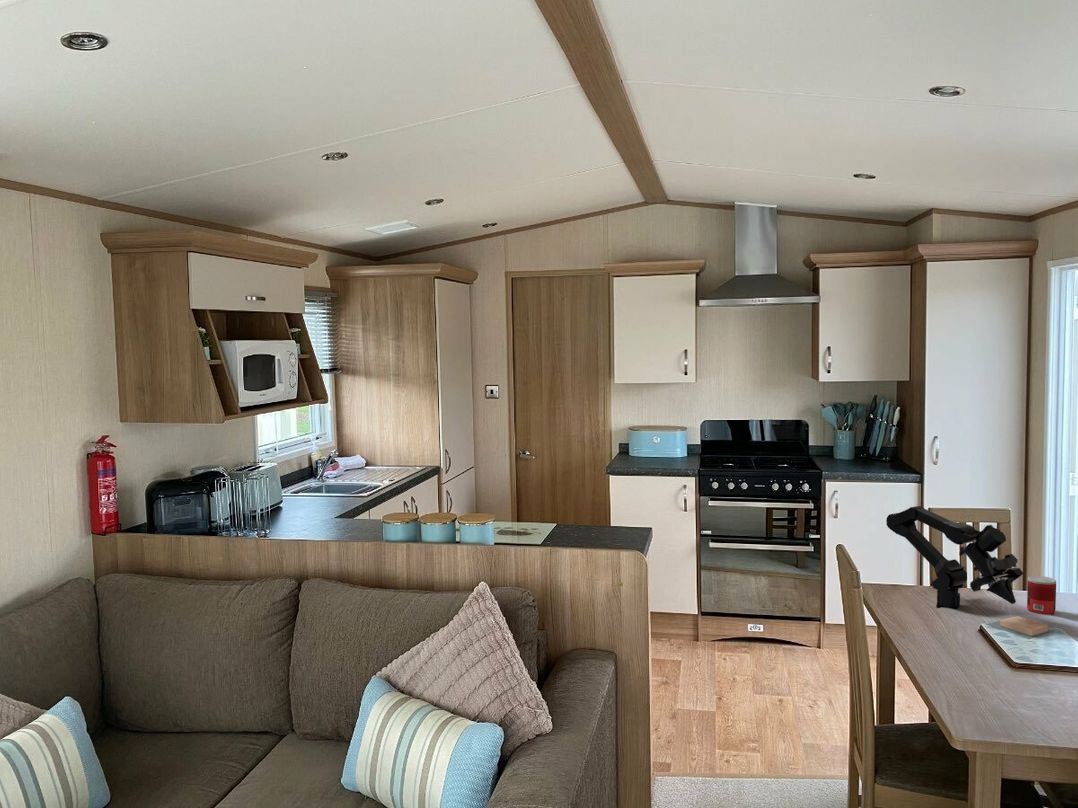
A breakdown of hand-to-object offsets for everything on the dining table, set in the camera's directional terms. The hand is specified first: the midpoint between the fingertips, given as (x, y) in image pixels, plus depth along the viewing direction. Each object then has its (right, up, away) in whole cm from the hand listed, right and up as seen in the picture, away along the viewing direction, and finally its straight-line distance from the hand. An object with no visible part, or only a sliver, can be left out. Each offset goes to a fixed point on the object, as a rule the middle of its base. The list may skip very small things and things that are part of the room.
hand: (1014, 603), depth 259 cm
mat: (+1, -8, -1) cm, 8 cm away
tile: (-1, -6, +2) cm, 6 cm away
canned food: (+17, -7, +14) cm, 23 cm away
